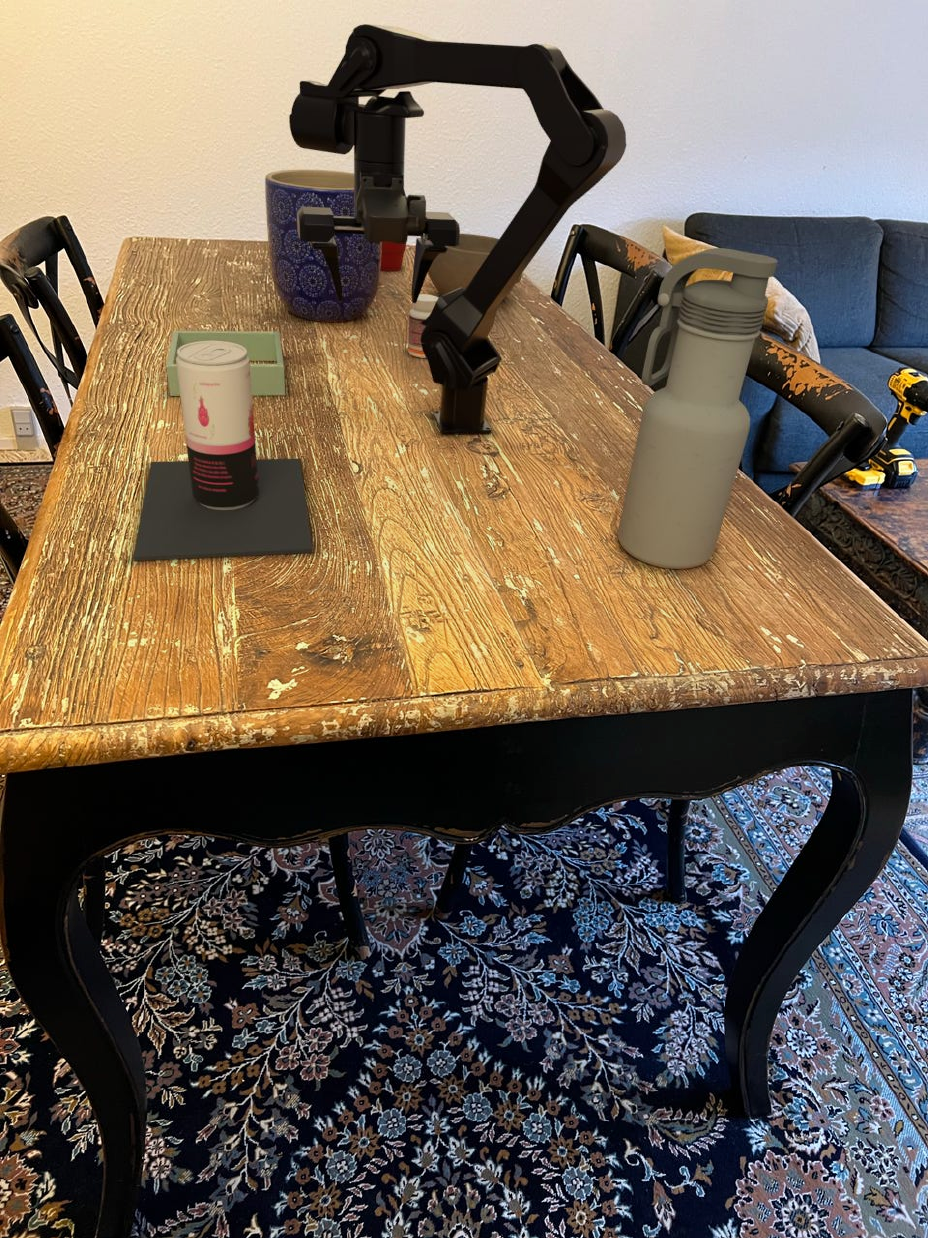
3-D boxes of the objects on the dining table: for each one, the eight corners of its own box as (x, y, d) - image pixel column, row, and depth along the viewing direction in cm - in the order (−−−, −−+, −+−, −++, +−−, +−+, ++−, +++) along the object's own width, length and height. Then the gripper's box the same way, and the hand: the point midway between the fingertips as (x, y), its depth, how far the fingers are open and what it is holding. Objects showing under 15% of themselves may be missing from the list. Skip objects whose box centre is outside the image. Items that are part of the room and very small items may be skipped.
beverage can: (272, 492, 87) (263, 349, 79) (232, 518, 82) (217, 367, 74) (221, 477, 89) (206, 335, 81) (179, 501, 84) (159, 352, 76)
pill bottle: (434, 360, 127) (437, 303, 122) (404, 355, 128) (406, 299, 123) (441, 350, 131) (444, 295, 126) (412, 346, 132) (414, 291, 127)
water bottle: (596, 548, 84) (653, 250, 68) (636, 513, 91) (696, 235, 75) (691, 584, 80) (777, 275, 64) (726, 544, 87) (810, 256, 70)
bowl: (526, 293, 164) (532, 238, 158) (505, 316, 149) (511, 257, 144) (441, 281, 167) (444, 226, 161) (413, 302, 152) (415, 243, 147)
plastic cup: (351, 269, 169) (351, 204, 162) (372, 258, 178) (372, 196, 171) (402, 277, 167) (404, 211, 160) (420, 266, 176) (422, 203, 169)
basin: (285, 395, 111) (283, 365, 109) (170, 396, 108) (166, 365, 106) (280, 358, 123) (279, 331, 120) (176, 358, 120) (172, 330, 117)
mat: (312, 552, 79) (312, 548, 79) (133, 561, 76) (133, 556, 76) (300, 462, 95) (300, 458, 95) (151, 465, 92) (150, 461, 91)
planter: (251, 317, 138) (241, 177, 126) (303, 292, 153) (299, 165, 141) (353, 335, 134) (352, 193, 122) (397, 308, 148) (400, 178, 137)
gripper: (300, 166, 87) (305, 319, 96) (474, 175, 91) (464, 321, 100) (294, 151, 96) (299, 293, 105) (453, 160, 100) (445, 296, 109)
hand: (377, 301), depth 104 cm, fingers open, 9 cm apart
